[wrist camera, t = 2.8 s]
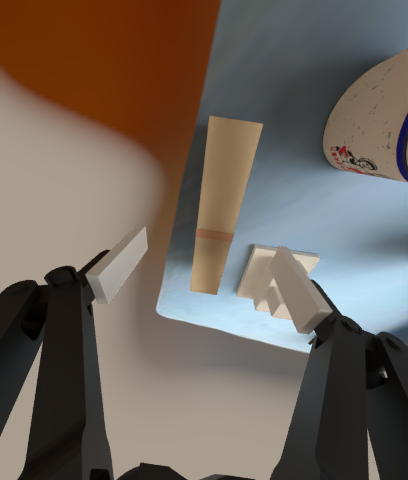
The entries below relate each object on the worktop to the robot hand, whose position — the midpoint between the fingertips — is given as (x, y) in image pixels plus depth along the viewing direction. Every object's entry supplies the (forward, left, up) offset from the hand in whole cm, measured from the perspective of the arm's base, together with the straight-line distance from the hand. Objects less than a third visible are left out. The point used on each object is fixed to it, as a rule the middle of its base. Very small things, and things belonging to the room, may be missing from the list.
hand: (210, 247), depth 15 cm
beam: (0, 0, -8) cm, 8 cm away
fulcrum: (+10, +12, -8) cm, 18 cm away
